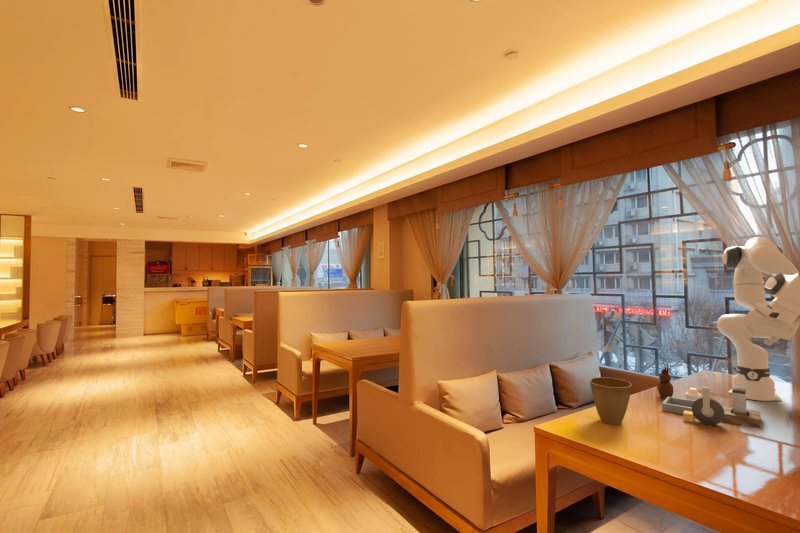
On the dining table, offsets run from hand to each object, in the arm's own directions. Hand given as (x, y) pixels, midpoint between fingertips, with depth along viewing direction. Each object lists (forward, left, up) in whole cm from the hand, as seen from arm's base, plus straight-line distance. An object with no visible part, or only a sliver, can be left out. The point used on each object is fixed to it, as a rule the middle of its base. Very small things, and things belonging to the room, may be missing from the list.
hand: (756, 341), depth 160 cm
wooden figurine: (-14, -34, -32) cm, 49 cm away
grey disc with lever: (+16, -16, -32) cm, 39 cm away
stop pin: (+2, -6, -32) cm, 32 cm away
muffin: (-12, -23, -32) cm, 41 cm away
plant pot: (+37, -44, -32) cm, 65 cm away
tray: (+2, -25, -32) cm, 40 cm away
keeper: (+2, -6, -32) cm, 32 cm away
